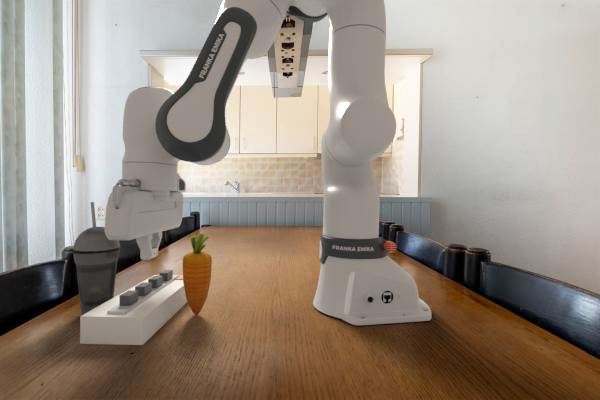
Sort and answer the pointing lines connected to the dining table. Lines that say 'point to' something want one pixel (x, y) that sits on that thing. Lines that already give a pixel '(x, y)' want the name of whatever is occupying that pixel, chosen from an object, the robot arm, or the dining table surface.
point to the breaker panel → (135, 312)
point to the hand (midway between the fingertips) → (149, 258)
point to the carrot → (197, 274)
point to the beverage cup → (95, 266)
